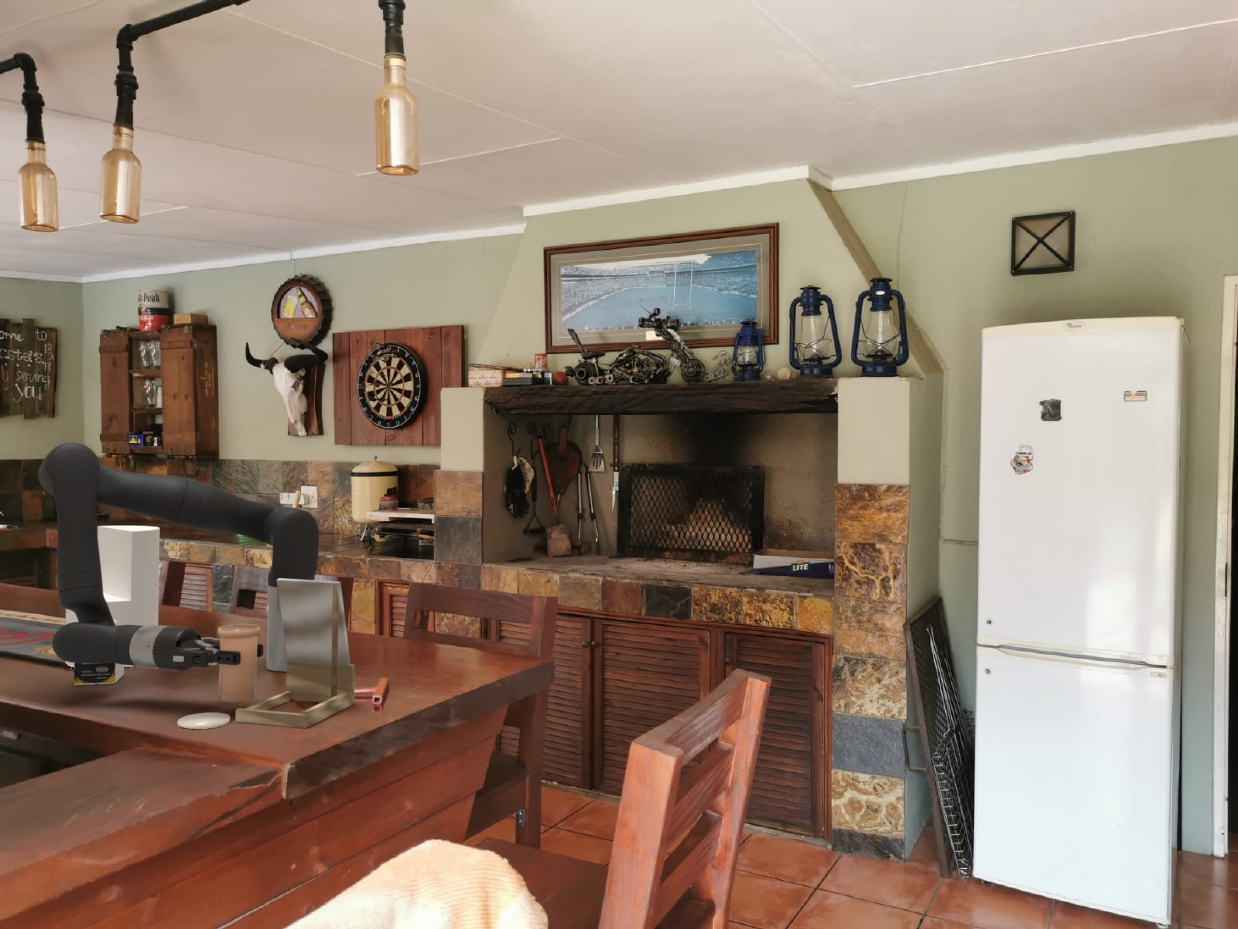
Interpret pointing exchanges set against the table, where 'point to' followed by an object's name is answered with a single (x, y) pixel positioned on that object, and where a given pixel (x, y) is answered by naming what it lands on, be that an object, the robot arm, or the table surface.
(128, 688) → the table surface
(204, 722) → the saucer
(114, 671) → the medicine bottle
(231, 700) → the clay pot
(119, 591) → the rounded stepped block
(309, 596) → the cold frame
